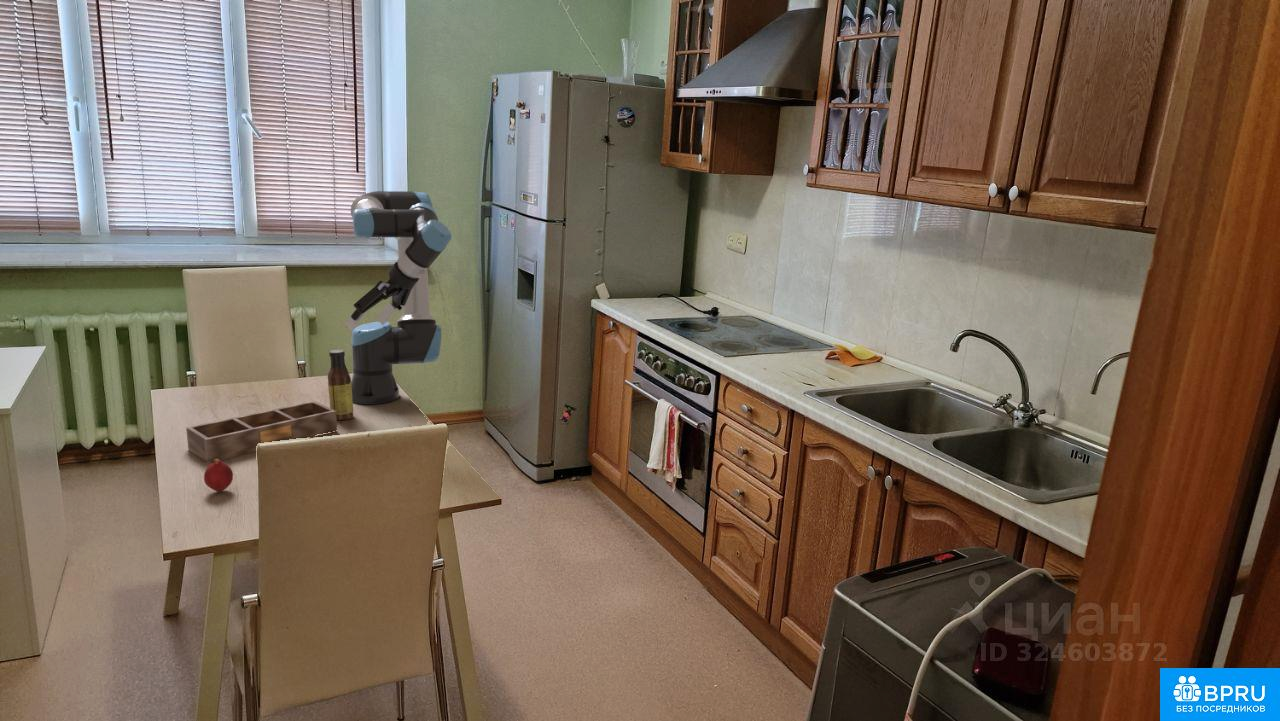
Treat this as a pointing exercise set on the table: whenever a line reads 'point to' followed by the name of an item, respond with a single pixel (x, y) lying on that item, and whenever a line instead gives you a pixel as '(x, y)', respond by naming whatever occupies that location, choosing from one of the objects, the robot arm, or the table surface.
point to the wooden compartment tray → (259, 430)
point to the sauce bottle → (340, 386)
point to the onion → (218, 476)
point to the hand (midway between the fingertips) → (364, 324)
